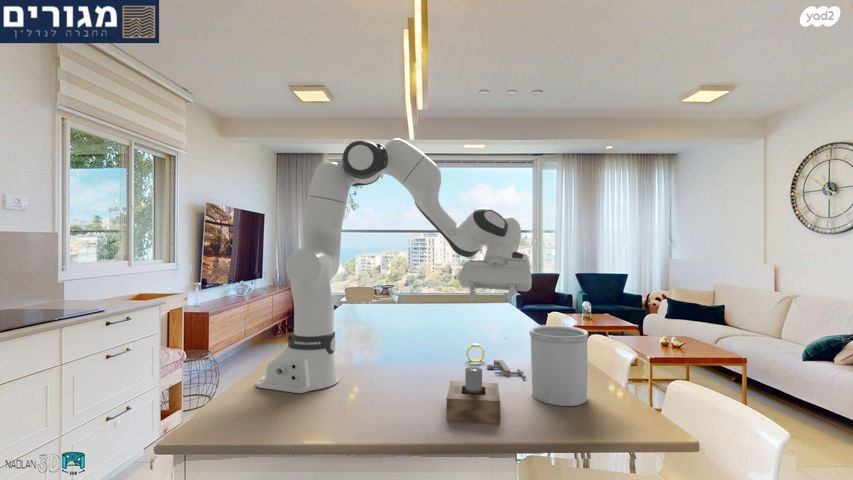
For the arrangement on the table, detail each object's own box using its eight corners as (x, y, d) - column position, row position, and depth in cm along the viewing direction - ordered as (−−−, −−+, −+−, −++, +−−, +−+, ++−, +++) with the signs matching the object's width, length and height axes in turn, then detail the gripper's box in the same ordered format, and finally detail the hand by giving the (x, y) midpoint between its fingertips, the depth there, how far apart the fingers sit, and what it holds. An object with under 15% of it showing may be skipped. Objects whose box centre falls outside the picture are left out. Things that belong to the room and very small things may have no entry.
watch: (482, 361, 142) (484, 343, 142) (484, 363, 139) (485, 345, 139) (465, 359, 142) (467, 342, 142) (466, 362, 139) (468, 344, 139)
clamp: (485, 359, 136) (514, 359, 136) (485, 366, 136) (514, 366, 136) (493, 373, 121) (526, 374, 121) (493, 381, 121) (526, 381, 121)
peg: (464, 414, 96) (465, 371, 96) (465, 407, 100) (465, 366, 100) (481, 415, 95) (482, 372, 96) (481, 408, 99) (482, 367, 100)
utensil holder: (526, 403, 103) (526, 333, 104) (532, 384, 117) (532, 323, 117) (589, 411, 98) (589, 338, 98) (587, 391, 112) (587, 327, 112)
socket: (446, 420, 93) (446, 398, 93) (450, 400, 104) (450, 380, 104) (500, 423, 91) (500, 401, 91) (497, 403, 103) (497, 383, 103)
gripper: (462, 252, 121) (449, 288, 112) (533, 254, 112) (525, 294, 103) (467, 267, 125) (455, 303, 116) (535, 270, 116) (528, 309, 107)
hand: (488, 299), depth 109 cm, fingers open, 8 cm apart
